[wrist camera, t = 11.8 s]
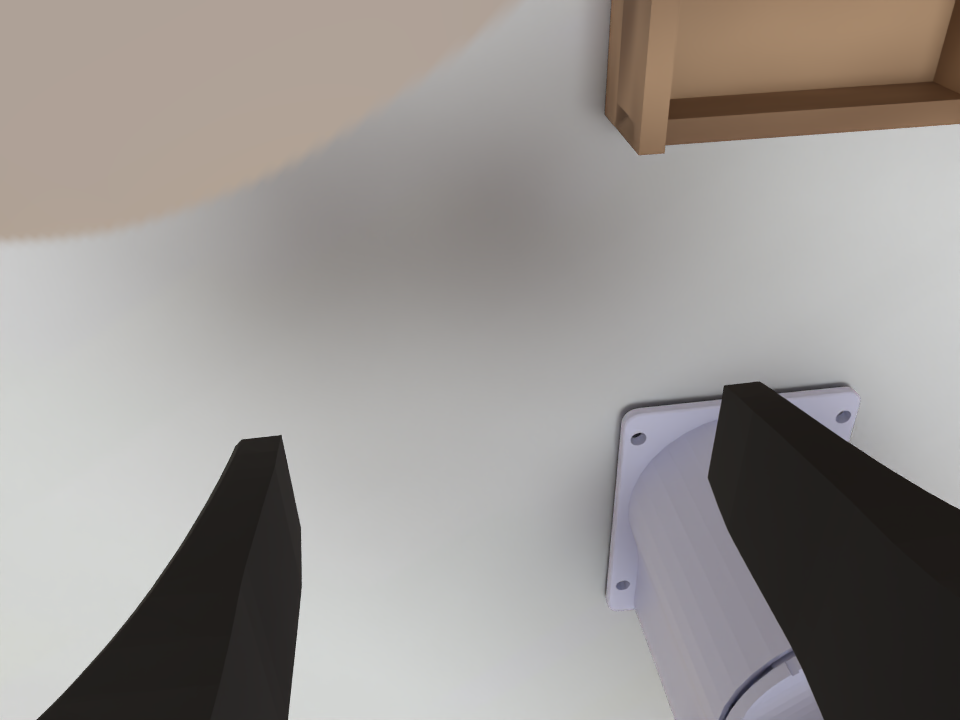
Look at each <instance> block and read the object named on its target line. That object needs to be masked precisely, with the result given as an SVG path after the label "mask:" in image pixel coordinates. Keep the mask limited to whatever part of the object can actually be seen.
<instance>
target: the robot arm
mask: <svg viewBox="0 0 960 720" xmlns="http://www.w3.org/2000/svg"><path fill="white" fill-rule="evenodd" d="M860 399H861V398H860V396H859V394H858V393H857V392H856V391H855V390H854V389H853V388H851V387H836V388H826V389H817V390H807V391H797V392H788V393H776V392H775V391H773V390H772V389H770V388H769V387H767V386H766V385H764V384H763V383H761V382H752V383H743V384H734V385H725V386H724V390H723V395H722V399H721V400H711V401H702V402H692V403H682V404H673V405H663V406H654V407H644V408H637V409H633V410H631V411H629V412H627V413H626V414H625V416H624V417H623V419H622V423H621V434H620V445H619V456H618V467H617V479H616V490H615V501H614V512H613V523H612V534H611V545H610V556H609V568H608V579H607V590H606V601H607V604H608V607H609V608H610V609H611V610H614V611H624V610H632V609H635V610H636V613H637V616H638V619H639V621H640V624H641V627H642V630H643V632H644V635H645V638H646V641H647V644H648V646H649V649H650V652H651V655H652V657H653V660H654V663H655V666H656V668H657V671H658V674H659V677H660V680H661V682H662V685H663V688H664V691H665V693H666V696H667V699H668V702H669V705H670V707H671V710H672V713H673V716H674V718H675V720H960V509H958V508H956V507H954V506H952V505H950V504H948V503H946V502H945V501H943V500H941V499H939V498H937V497H936V496H934V495H932V494H930V493H929V492H927V491H925V490H923V489H922V488H920V487H918V486H917V485H915V484H913V483H912V482H910V481H908V480H907V479H905V478H903V477H902V476H900V475H898V474H897V473H895V472H893V471H892V470H890V469H889V468H887V467H886V466H884V465H882V464H881V463H879V462H878V461H876V460H875V459H873V458H871V457H870V456H868V455H867V454H865V453H864V452H862V451H861V450H859V449H858V448H856V447H855V446H853V445H852V444H850V443H849V440H850V436H851V433H852V429H853V426H854V423H855V419H856V416H857V412H858V409H859V405H860ZM842 411H844V412H843V413H842V414H840V415H838V414H839V413H840V412H842ZM837 415H838V416H837ZM637 433H642V434H641V435H640V436H638V437H636V438H631V437H632V436H633V435H634V434H637ZM623 580H624V581H623ZM620 581H621V582H620ZM301 588H302V566H301V526H300V522H299V517H298V512H297V507H296V503H295V498H294V493H293V488H292V483H291V479H290V474H289V469H288V464H287V459H286V455H285V450H284V445H283V440H282V436H281V435H279V436H270V437H261V438H252V439H243V440H241V441H240V442H239V443H238V444H237V445H236V446H235V449H234V451H233V453H232V455H231V457H230V459H229V461H228V463H227V465H226V467H225V469H224V471H223V473H222V475H221V477H220V479H219V481H218V483H217V485H216V486H215V488H214V490H213V492H212V494H211V495H210V497H209V499H208V501H207V503H206V504H205V506H204V508H203V510H202V511H201V513H200V515H199V516H198V518H197V520H196V521H195V523H194V524H193V526H192V528H191V529H190V531H189V533H188V534H187V536H186V538H185V539H184V541H183V543H182V544H181V546H180V547H179V549H178V550H177V552H176V553H175V555H174V556H173V558H172V559H171V561H170V562H169V564H168V565H167V566H166V568H165V569H164V571H163V572H162V574H161V575H160V577H159V578H158V580H157V581H156V583H155V584H154V585H153V587H152V588H151V590H150V591H149V592H148V594H147V595H146V596H145V598H144V599H143V600H142V602H141V603H140V604H139V606H138V607H137V608H136V610H135V611H134V612H133V614H132V615H131V616H130V617H129V619H128V620H127V621H126V622H125V624H124V625H123V626H122V627H121V629H120V630H119V631H118V632H117V633H116V635H115V636H114V637H113V638H112V640H111V641H110V642H109V643H108V644H107V646H106V647H105V648H104V649H103V650H102V651H101V652H100V653H99V655H98V656H97V657H96V658H95V659H94V660H93V661H92V662H91V664H90V665H89V666H88V667H87V668H86V669H85V670H84V671H83V672H82V674H81V675H80V676H79V677H78V678H77V679H76V680H75V681H74V682H73V684H72V685H71V686H70V687H69V688H68V689H67V690H66V691H65V692H64V693H63V694H62V695H61V696H60V697H59V698H58V699H57V700H56V701H55V702H54V703H53V704H52V705H51V706H50V707H49V708H48V709H47V710H46V711H45V712H44V713H43V714H42V715H41V716H40V717H39V718H38V719H37V720H288V714H289V704H290V695H291V685H292V676H293V666H294V657H295V648H296V638H297V629H298V619H299V609H300V599H301Z"/></svg>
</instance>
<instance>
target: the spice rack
mask: <svg viewBox="0 0 960 720" xmlns="http://www.w3.org/2000/svg"><path fill="white" fill-rule="evenodd" d="M605 115H606V117H607V118H608V119H609V120H610V121H611V123H612V124H613V125H614V126H615V127H616V129H617V130H618V131H619V132H620V133H621V135H622V136H623V137H624V138H625V139H626V141H627V142H628V143H629V144H630V145H631V146H632V148H633V149H634V150H635V151H636V152H637V154H638V155H648V154H662V153H664V152H665V145H676V144H690V143H704V142H717V141H731V140H745V139H759V138H772V137H786V136H800V135H814V134H827V133H841V132H855V131H869V130H882V129H896V128H910V127H924V126H937V125H951V124H960V0H611V17H610V34H609V51H608V68H607V84H606V101H605Z"/></svg>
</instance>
